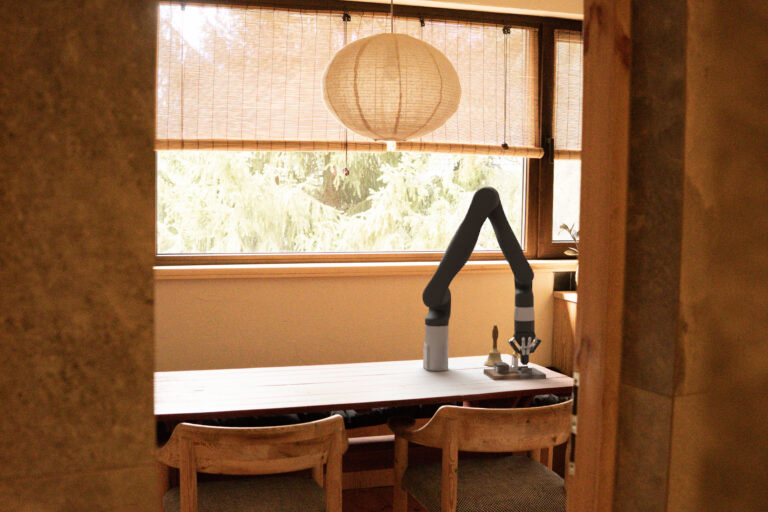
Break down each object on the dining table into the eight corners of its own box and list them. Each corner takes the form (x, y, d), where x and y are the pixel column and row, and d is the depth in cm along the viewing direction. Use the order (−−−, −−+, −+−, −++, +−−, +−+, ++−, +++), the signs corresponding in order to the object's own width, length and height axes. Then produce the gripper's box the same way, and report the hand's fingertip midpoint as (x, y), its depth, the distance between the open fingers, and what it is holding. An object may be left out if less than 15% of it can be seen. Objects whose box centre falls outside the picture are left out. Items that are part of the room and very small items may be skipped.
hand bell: (508, 364, 284) (508, 325, 283) (499, 367, 277) (500, 327, 276) (488, 362, 289) (489, 323, 288) (480, 365, 282) (481, 325, 281)
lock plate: (494, 380, 256) (494, 367, 256) (483, 373, 268) (483, 360, 267) (546, 378, 259) (546, 365, 259) (533, 371, 271) (533, 359, 271)
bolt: (497, 372, 261) (497, 353, 261) (495, 371, 263) (495, 352, 263) (518, 371, 262) (518, 352, 262) (516, 370, 265) (516, 351, 264)
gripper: (510, 320, 258) (511, 367, 259) (545, 319, 261) (545, 365, 261) (503, 318, 266) (504, 363, 267) (537, 316, 268) (537, 361, 269)
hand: (524, 364), depth 264 cm, fingers closed
